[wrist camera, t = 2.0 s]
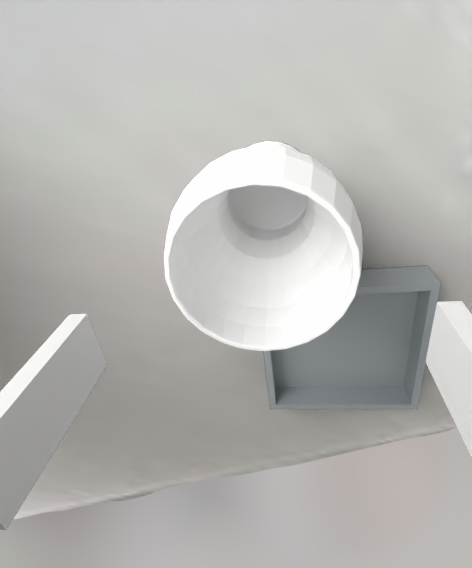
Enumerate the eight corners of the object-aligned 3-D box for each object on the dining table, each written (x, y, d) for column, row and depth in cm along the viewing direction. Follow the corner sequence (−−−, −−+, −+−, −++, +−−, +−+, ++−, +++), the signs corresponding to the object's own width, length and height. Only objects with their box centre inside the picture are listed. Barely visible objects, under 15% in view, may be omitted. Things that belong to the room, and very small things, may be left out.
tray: (270, 387, 42) (270, 409, 39) (258, 275, 34) (256, 292, 32) (408, 386, 39) (417, 409, 37) (427, 265, 32) (441, 283, 29)
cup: (198, 126, 28) (128, 173, 15) (336, 115, 26) (388, 155, 14) (214, 248, 33) (173, 358, 20) (329, 244, 32) (362, 360, 19)
